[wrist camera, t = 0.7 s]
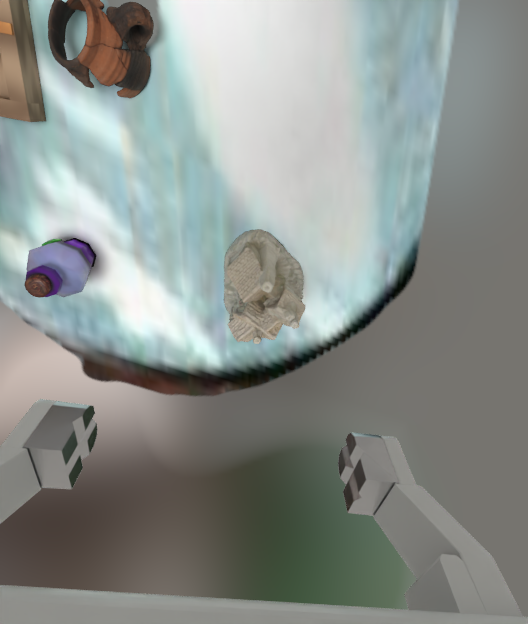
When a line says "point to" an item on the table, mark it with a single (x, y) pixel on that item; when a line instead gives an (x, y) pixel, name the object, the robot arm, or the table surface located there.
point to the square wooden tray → (18, 65)
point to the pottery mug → (105, 43)
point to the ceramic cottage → (261, 287)
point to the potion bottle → (59, 268)
